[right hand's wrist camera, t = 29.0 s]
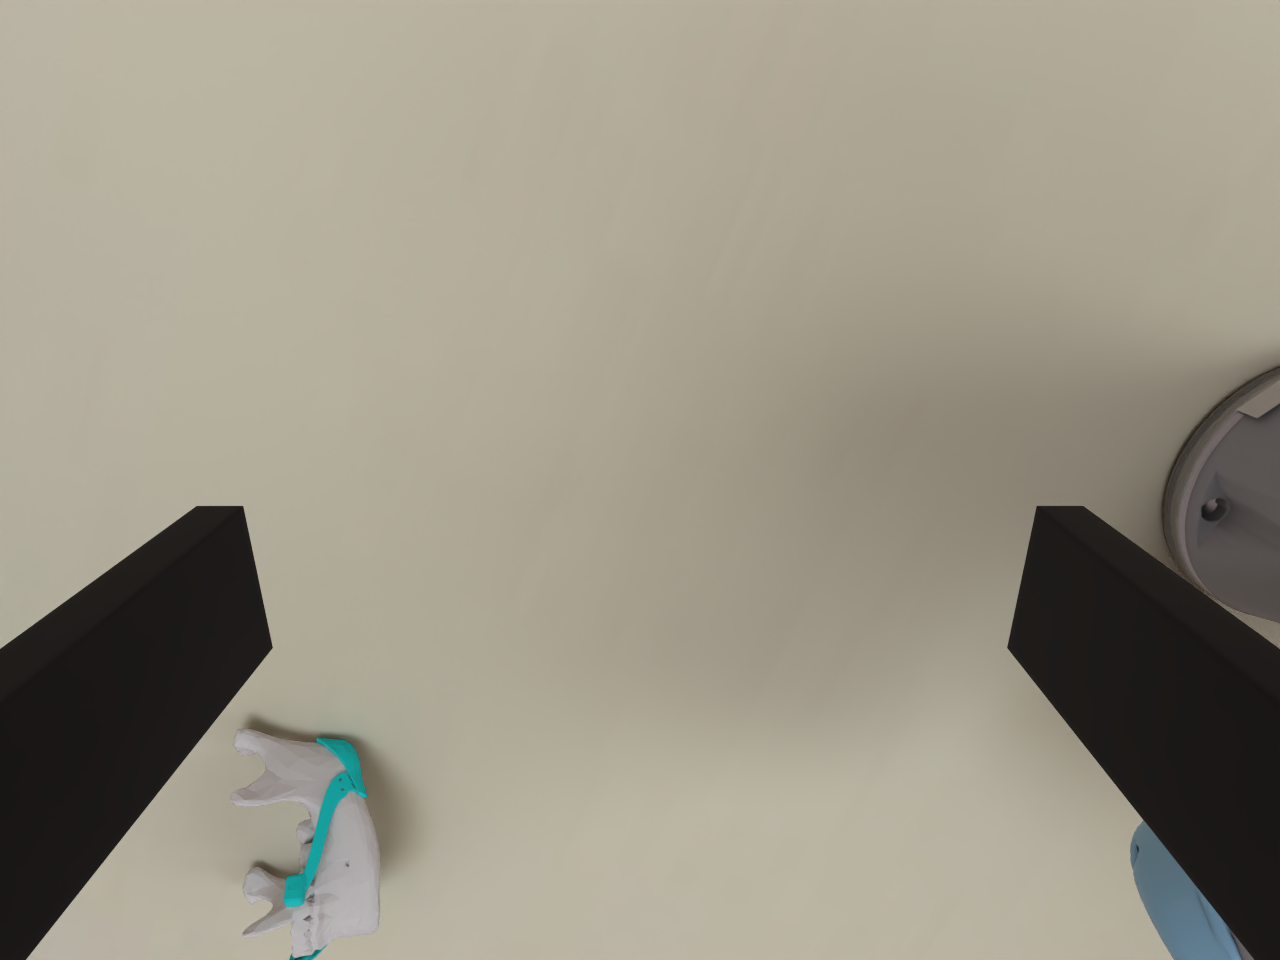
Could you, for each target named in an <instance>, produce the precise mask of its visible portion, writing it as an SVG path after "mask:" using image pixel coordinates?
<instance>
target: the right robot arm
mask: <svg viewBox="0 0 1280 960" xmlns="http://www.w3.org/2000/svg"><path fill="white" fill-rule="evenodd" d="M1163 525H1164V532H1165V538H1166V541H1167V544H1168V548H1169V550H1170V552H1171V554H1172V556H1173V559H1174V560H1175V562H1176V563H1177V565H1178V566H1179V568H1180V569H1181V570H1182V571H1183V572H1184V574H1185V575H1186V576H1187V577H1188V578H1190V579H1191V580H1192V581H1193V582H1194V583H1195V584H1197V585H1198V586H1200V587H1201V588H1202V589H1204V590H1205V591H1207V592H1208V593H1209V594H1211V595H1212V596H1214V597H1215V598H1216V599H1218V600H1219V601H1221V602H1222V603H1224V604H1225V605H1227V606H1229V607H1231V608H1233V609H1235V610H1238V611H1241V612H1243V613H1246V614H1250V615H1254V616H1257V617H1261V618H1264V619H1268V620H1271V621H1275V622H1278V623H1280V367H1279V368H1277V369H1275V370H1272V371H1270V372H1268V373H1266V374H1264V375H1262V376H1261V377H1259V378H1257V379H1255V380H1253V381H1252V382H1250V383H1249V384H1247V385H1246V386H1244V387H1243V388H1241V389H1240V390H1238V391H1237V392H1236V393H1234V394H1233V395H1232V396H1230V397H1229V398H1228V399H1226V400H1225V401H1224V402H1223V403H1222V404H1221V405H1220V406H1219V407H1217V408H1216V409H1215V410H1214V411H1213V412H1212V413H1211V414H1210V415H1209V416H1208V417H1207V418H1206V419H1205V421H1204V422H1203V423H1202V424H1201V425H1200V427H1199V428H1198V429H1197V430H1196V431H1195V433H1194V434H1193V435H1192V437H1191V438H1190V440H1189V441H1188V443H1187V444H1186V446H1185V447H1184V449H1183V451H1182V452H1181V454H1180V456H1179V458H1178V460H1177V462H1176V464H1175V466H1174V468H1173V471H1172V473H1171V476H1170V479H1169V482H1168V486H1167V489H1166V493H1165V499H1164V506H1163ZM272 648H273V647H272V642H271V637H270V633H269V628H268V623H267V618H266V613H265V609H264V604H263V599H262V594H261V589H260V585H259V580H258V575H257V570H256V565H255V561H254V556H253V551H252V546H251V541H250V537H249V532H248V527H247V522H246V517H245V513H244V508H243V506H196V507H195V508H193V509H192V510H191V511H189V512H188V513H187V514H185V515H184V516H182V517H181V518H180V519H178V520H177V521H176V522H174V523H173V524H171V525H170V526H169V527H167V528H166V529H165V530H163V531H162V532H160V533H159V534H158V535H156V536H155V537H154V538H152V539H151V540H149V541H148V542H147V543H145V544H144V545H143V546H141V547H140V548H138V549H137V550H136V551H134V552H133V553H132V554H130V555H129V556H127V557H126V558H125V559H123V560H122V561H121V562H119V563H118V564H116V565H115V566H114V567H112V568H111V569H110V570H108V571H107V572H105V573H104V574H103V575H101V576H100V577H99V578H97V579H96V580H94V581H93V582H92V583H90V584H89V585H88V586H86V587H85V588H83V589H82V590H81V591H79V592H78V593H77V594H75V595H74V596H72V597H71V598H70V599H68V600H67V601H66V602H64V603H63V604H61V605H60V606H59V607H57V608H56V609H55V610H53V611H52V612H50V613H49V614H48V615H46V616H45V617H44V618H42V619H41V620H39V621H38V622H37V623H35V624H34V625H33V626H31V627H30V628H28V629H27V630H26V631H24V632H23V633H22V634H20V635H19V636H17V637H16V638H15V639H13V640H12V641H11V642H9V643H8V644H6V645H5V646H4V647H2V648H1V649H0V960H26V959H27V958H28V956H29V955H30V954H31V953H32V951H33V950H34V949H35V947H36V946H37V945H38V944H39V942H40V941H41V940H42V939H43V937H44V936H45V935H46V934H47V932H48V931H49V930H50V929H51V927H52V926H53V925H54V923H55V922H56V921H57V920H58V918H59V917H60V916H61V915H62V913H63V912H64V911H65V910H66V908H67V907H68V906H69V905H70V903H71V902H72V901H73V899H74V898H75V897H76V896H77V894H78V893H79V892H80V891H81V889H82V888H83V887H84V886H85V884H86V883H87V882H88V881H89V879H90V878H91V877H92V875H93V874H94V873H95V872H96V870H97V869H98V868H99V867H100V865H101V864H102V863H103V862H104V860H105V859H106V858H107V857H108V855H109V854H110V853H111V851H112V850H113V849H114V848H115V846H116V845H117V844H118V843H119V841H120V840H121V839H122V838H123V836H124V835H125V834H126V833H127V831H128V830H129V829H130V827H131V826H132V825H133V824H134V822H135V821H136V820H137V819H138V817H139V816H140V815H141V814H142V812H143V811H144V810H145V809H146V807H147V806H148V805H149V803H150V802H151V801H152V800H153V798H154V797H155V796H156V795H157V793H158V792H159V791H160V790H161V788H162V787H163V786H164V784H165V783H166V782H167V781H168V779H169V778H170V777H171V776H172V774H173V773H174V772H175V771H176V769H177V768H178V767H179V766H180V764H181V763H182V762H183V760H184V759H185V758H186V757H187V755H188V754H189V753H190V752H191V750H192V749H193V748H194V747H195V745H196V744H197V743H198V742H199V740H200V739H201V738H202V736H203V735H204V734H205V733H206V731H207V730H208V729H209V728H210V726H211V725H212V724H213V723H214V721H215V720H216V719H217V718H218V716H219V715H220V714H221V712H222V711H223V710H224V709H225V707H226V706H227V705H228V704H229V702H230V701H231V700H232V699H233V697H234V696H235V695H236V694H237V692H238V691H239V690H240V688H241V687H242V686H243V685H244V683H245V682H246V681H247V680H248V678H249V677H250V676H251V675H252V673H253V672H254V671H255V670H256V668H257V667H258V666H259V664H260V663H261V662H262V661H263V659H264V658H265V657H266V656H267V654H268V653H269V652H270V651H271V649H272ZM1007 648H1008V649H1009V651H1010V652H1011V653H1012V654H1013V656H1014V657H1015V658H1016V659H1017V661H1018V662H1019V663H1020V664H1021V666H1022V667H1023V668H1024V670H1025V671H1026V672H1027V673H1028V675H1029V676H1030V677H1031V678H1032V680H1033V681H1034V682H1035V683H1036V685H1037V686H1038V687H1039V688H1040V690H1041V691H1042V692H1043V694H1044V695H1045V696H1046V697H1047V699H1048V700H1049V701H1050V702H1051V704H1052V705H1053V706H1054V707H1055V709H1056V710H1057V711H1058V712H1059V714H1060V715H1061V716H1062V718H1063V719H1064V720H1065V721H1066V723H1067V724H1068V725H1069V726H1070V728H1071V729H1072V730H1073V731H1074V733H1075V734H1076V735H1077V736H1078V738H1079V739H1080V740H1081V742H1082V743H1083V744H1084V745H1085V747H1086V748H1087V749H1088V750H1089V752H1090V753H1091V754H1092V755H1093V757H1094V758H1095V759H1096V760H1097V762H1098V763H1099V764H1100V766H1101V767H1102V768H1103V769H1104V771H1105V772H1106V773H1107V774H1108V776H1109V777H1110V778H1111V779H1112V781H1113V782H1114V783H1115V784H1116V786H1117V787H1118V788H1119V790H1120V791H1121V792H1122V793H1123V795H1124V796H1125V797H1126V798H1127V800H1128V801H1129V802H1130V803H1131V805H1132V806H1133V807H1134V809H1135V810H1136V811H1137V812H1138V814H1139V815H1140V816H1141V817H1142V819H1143V822H1142V823H1141V824H1140V825H1139V826H1138V827H1137V829H1136V831H1135V833H1134V835H1133V838H1132V842H1131V848H1130V852H1131V865H1132V868H1133V874H1134V880H1135V883H1136V886H1137V889H1138V892H1139V894H1140V897H1141V899H1142V902H1143V904H1144V906H1145V908H1146V911H1147V913H1148V915H1149V917H1150V919H1151V921H1152V923H1153V924H1154V926H1155V928H1156V930H1157V932H1158V934H1159V935H1160V937H1161V939H1162V941H1163V942H1164V944H1165V946H1166V947H1167V949H1168V951H1169V952H1170V954H1171V956H1172V957H1173V959H1174V960H1280V649H1279V648H1278V647H1276V646H1275V645H1273V644H1272V643H1271V642H1269V641H1268V640H1267V639H1265V638H1264V637H1263V636H1261V635H1260V634H1258V633H1257V632H1256V631H1254V630H1253V629H1252V628H1250V627H1249V626H1247V625H1246V624H1245V623H1243V622H1242V621H1241V620H1239V619H1238V618H1236V617H1235V616H1234V615H1232V614H1231V613H1230V612H1228V611H1227V610H1225V609H1224V608H1223V607H1221V606H1220V605H1219V604H1217V603H1216V602H1214V601H1213V600H1212V599H1210V598H1209V597H1208V596H1206V595H1205V594H1203V593H1202V592H1201V591H1199V590H1198V589H1197V588H1195V587H1194V586H1192V585H1191V584H1190V583H1188V582H1187V581H1186V580H1184V579H1183V578H1181V577H1180V576H1179V575H1177V574H1176V573H1175V572H1173V571H1172V570H1170V569H1169V568H1168V567H1166V566H1165V565H1164V564H1162V563H1161V562H1159V561H1158V560H1157V559H1155V558H1154V557H1153V556H1151V555H1150V554H1148V553H1147V552H1146V551H1144V550H1143V549H1142V548H1140V547H1139V546H1137V545H1136V544H1135V543H1133V542H1132V541H1131V540H1129V539H1128V538H1126V537H1125V536H1124V535H1122V534H1121V533H1120V532H1118V531H1117V530H1115V529H1114V528H1113V527H1111V526H1110V525H1109V524H1107V523H1106V522H1104V521H1103V520H1102V519H1100V518H1099V517H1098V516H1096V515H1095V514H1093V513H1092V512H1091V511H1089V510H1088V509H1087V508H1085V507H1084V506H1037V508H1036V513H1035V517H1034V522H1033V527H1032V532H1031V537H1030V541H1029V546H1028V551H1027V556H1026V561H1025V565H1024V570H1023V575H1022V580H1021V585H1020V589H1019V594H1018V599H1017V604H1016V609H1015V613H1014V618H1013V623H1012V628H1011V633H1010V637H1009V642H1008V647H1007Z"/></svg>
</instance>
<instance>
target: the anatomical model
mask: <svg viewBox="0 0 1280 960" xmlns="http://www.w3.org/2000/svg"><path fill="white" fill-rule="evenodd" d="M316 739H317V742H301V741H294V740H286V739H280V738H276V737H273V736H270V735H267V734H265V733H262V732H259V731H255V730H252V729H238V730H237V732H236V734H235V737H234V742H233V746H234V748H235V749H236V750H237V751H238V752H239V753H240V754H241V755H243V756H250V755H253V754H255V753H258V754H259V755H260V757H261V758H262V759H263V761H264V763H265V769H266V770H265V772H264V773H263V774H262V775H261V776H260V777H259V778H258V779H257V780H256V781H255V782H253V783H252V784H250V785H249V786H248V787H246V788H243V789H239V790H236V791H234V792H233V793H232V794H231V795H230V801H231V802H232V803H233V804H235V805H237V806H247V807H254V806H261V805H267V804H271V803H275V802H279V801H295V802H300V803H301V804H302V805H303V807H304V808H305V809H306V810H307V811H308V812H309V815H310V817H311V819H309V820H305V821H303V822H300V823H299V824H298V827H297V831H296V834H297V837H298V840H299V841H300V842H301V851H300V856H299V863H300V865H301V869H300V872H299V874H296V875H290V876H288V877H287V878H286V879H281V878H278V877H275V876H273V875H271V874H269V873H268V872H266V871H265V870H263V869H262V868H260V867H254V868H252V869H251V870H250V871H249V872H248V873H247V874H246V877H245V880H244V884H243V888H242V890H243V894H244V896H245V898H246V899H247V901H248V903H250V904H253V903H255V902H257V901H259V900H261V899H266V900H268V901H270V902H272V904H273V907H272V910H271V911H270V912H269V913H268V914H267V915H266V916H264V917H263V918H261V919H260V920H258V921H256V922H255V923H253V924H252V925H250V926H249V927H248V928H247V929H245V931H244V932H243V934H242V935H243V938H249V937H256V936H258V935H261V934H264V933H266V932H269V931H272V930H274V929H277V928H280V927H282V926H285V925H287V924H290V923H291V936H292V954H291V956H290V959H289V960H312V959H314V958H315V957H316V956H317V955H318V954H319V953H320V952H321V951H322V950H323V949H324V948H325V947H326V946H327V945H328V943H330V942H331V941H332V940H334V939H335V938H341V937H354V936H358V935H371V934H372V933H374V932H375V931H376V930H377V929H378V925H379V914H380V895H379V891H380V870H381V864H380V849H379V845H378V840H377V836H376V831H375V827H374V824H373V822H372V819H371V816H370V813H369V810H368V808H367V805H366V802H365V799H364V797H367V793H366V790H365V787H364V783H363V780H362V774H361V768H360V759H359V757H358V754H357V752H356V750H355V749H354V747H353V746H352V745H351V744H350V743H349V742H347V741H345V740H337V739H326V738H316Z"/></svg>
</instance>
